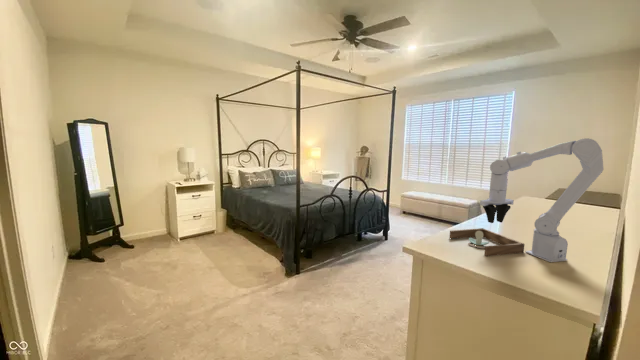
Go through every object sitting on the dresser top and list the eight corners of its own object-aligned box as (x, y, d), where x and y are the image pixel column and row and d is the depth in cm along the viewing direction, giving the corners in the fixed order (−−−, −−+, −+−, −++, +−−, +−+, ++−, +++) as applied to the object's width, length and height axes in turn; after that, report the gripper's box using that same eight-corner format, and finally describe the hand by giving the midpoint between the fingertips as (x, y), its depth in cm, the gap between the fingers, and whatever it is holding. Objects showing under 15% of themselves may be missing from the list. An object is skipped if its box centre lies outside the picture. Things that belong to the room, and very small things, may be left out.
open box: (523, 252, 105) (524, 243, 104) (486, 256, 101) (487, 247, 100) (481, 235, 124) (482, 228, 123) (449, 238, 120) (449, 230, 120)
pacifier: (484, 251, 107) (490, 246, 111) (485, 235, 106) (491, 232, 110) (464, 245, 112) (470, 241, 116) (465, 231, 111) (471, 227, 115)
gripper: (504, 187, 116) (501, 218, 118) (475, 188, 113) (472, 220, 114) (519, 190, 109) (516, 223, 111) (489, 191, 106) (486, 225, 108)
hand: (495, 222), depth 112 cm, fingers open, 4 cm apart
